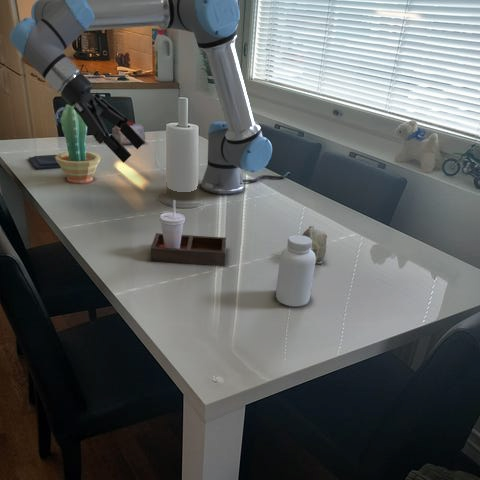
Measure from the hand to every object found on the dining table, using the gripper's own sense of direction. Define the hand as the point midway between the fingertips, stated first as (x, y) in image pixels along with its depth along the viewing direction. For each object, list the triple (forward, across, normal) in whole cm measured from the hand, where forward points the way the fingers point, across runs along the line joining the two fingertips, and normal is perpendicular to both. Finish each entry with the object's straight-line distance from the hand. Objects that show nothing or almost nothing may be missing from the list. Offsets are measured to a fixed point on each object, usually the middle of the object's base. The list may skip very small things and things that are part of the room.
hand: (134, 152), depth 129 cm
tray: (+28, +9, -5) cm, 30 cm away
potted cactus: (-6, -46, -40) cm, 61 cm away
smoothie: (+24, +9, -8) cm, 27 cm away
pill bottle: (+47, +27, +14) cm, 56 cm away
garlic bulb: (+51, +4, +18) cm, 54 cm away
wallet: (-17, -64, -50) cm, 83 cm away
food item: (-4, -104, -38) cm, 111 cm away
